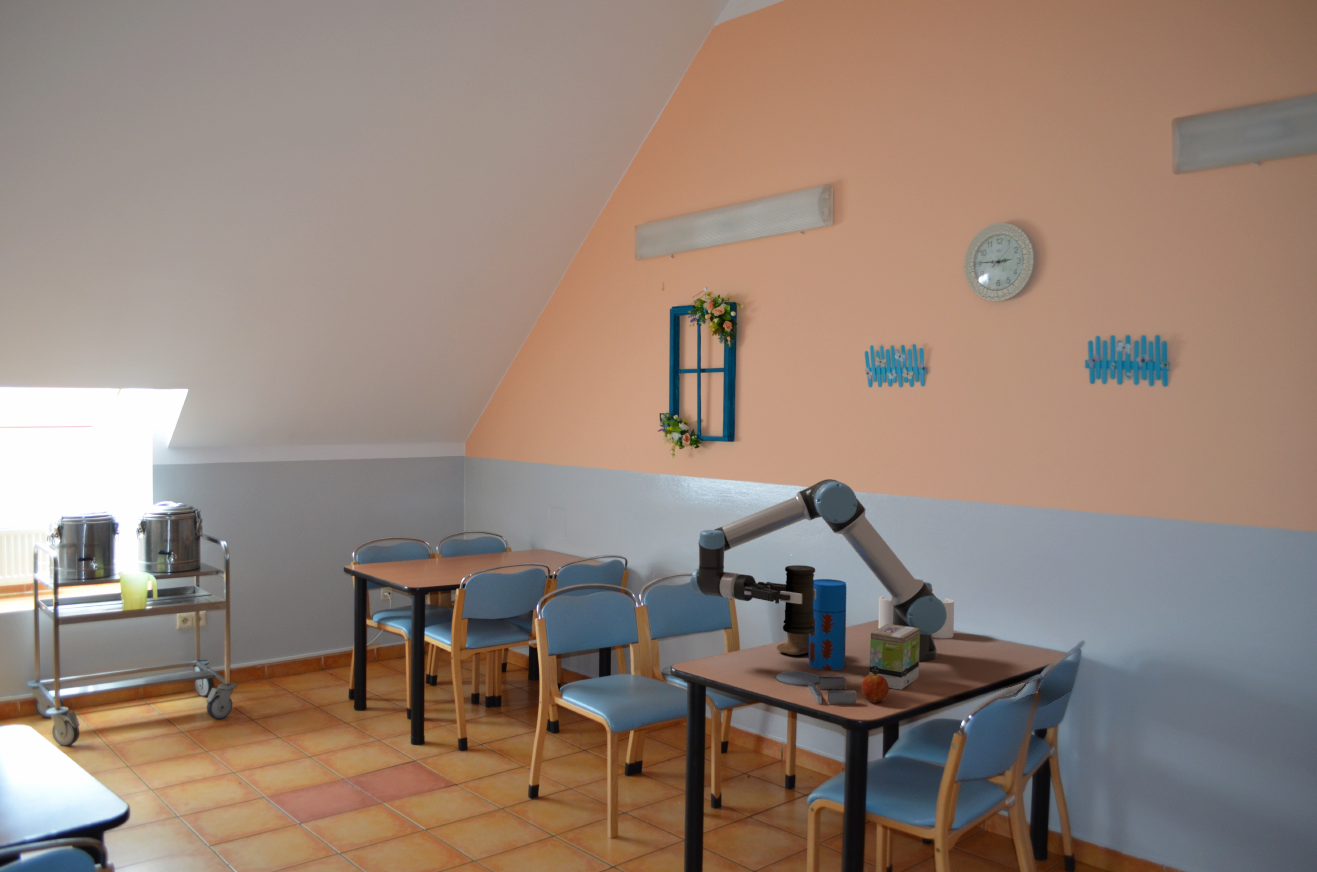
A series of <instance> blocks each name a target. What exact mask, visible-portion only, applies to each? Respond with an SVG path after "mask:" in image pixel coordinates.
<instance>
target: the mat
mask: <svg viewBox="0 0 1317 872" xmlns="http://www.w3.org/2000/svg"><path fill="white" fill-rule="evenodd" d="M776 680H777V682H779V683H783V684H785V685H790V686H803V687H805V686H808V680H812V681H813V683H814V685H816V684H819V676H818V675H816V674H814V673H812V672H811V673H810V672H806V671H792V670H791V671H784V672H780V673H778V674H777V675H776Z"/></svg>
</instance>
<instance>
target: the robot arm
mask: <svg viewBox="0 0 1317 872" xmlns="http://www.w3.org/2000/svg"><path fill="white" fill-rule="evenodd" d="M856 496H857V495H856V493H855V491H854V490H853V489H852V488H851V487H850V486H849V485H848V484H845V483H843V482H841V481H838V480H836V479H831V478H828V479H823V480H820V481H818V482H817V483H815V484H813V485H811V486H809V487H806V488H804V489H803V490H802V489H801V490H800V491H797V493H796V495H795V496H794V497H791V498H789V499H787V500H783V501H781V502H779V503H776V504H774V505H771V506H769V507H766V508H764V509H762V510H759V511H757V512H754V513H752V514H749V515H747V516H744V517H742V518H739V519H737V520H734V521H732V522H730V523H726V524H725V525H722V526H720V527H717V528H715V529H704V530H701V531H700V532H699V539H698V549H699V550H698V556H699V557H698V559H699V563H698V564H699V565H698V568H696V569H694V570H693V571H692V573H691V577H690V579H689V580H690V581H689V583H690V584H689V585H690V588H691V590H692V591H693V592H694V593H696V594H700V595H704V596H711V597H719V598H725V599H726V598H728V600H729V601H732V600H738V601H744V602H749V601H751V600H752V599H756V600H761V601H766V602H772V603H773V602H774V603H775V604H776V605H777V604H780V602H785V603H786V602H790V603H797V604H802V594H799V593H792V592H786V583H775V582H771V581H766V582H763V581H758V582H756V580H755V577H754V576H753V575H750V574H742V573H741V574H740V573H736V572H728V571H724V569H725V566H724V565H725V564H724V563H725V552H727V551H729V550H731V549H734V548H736V547H739V546H741V545H743V544H746V543H748V542H751V541H753V540H756V539H758V538H761V537H764V536H767V535H768V534H769V535H770V534H772V533H773V532H776V531H778V530H781V529H784V528H786V527H788V526H791V525H793V524H796V523H798V522H801V521H804V520H807V521H810V522H811V521H812V520H815V519H818V518H822V520H824V522H825V523H826V525H827V526H828V527H829V528H830V530H832V532H833V533H834V534H839V535H842V536H843V537H844V538H845V540H846V541H847V542H848V544H849V545H850V546H851V547H852V548H853V550H854V551H855V552H856V553H857V555H858V556H859V557H860V558H861V560H862V561H863V562H864V563H865V566H867V567H868V568H869V570H870V571H871V572H872V573H873V574H874V576H875V577H876V578H877V580H878V581H879V582H880V583H881V585H883V587H884V589H885V590H886V591H887V593H889V594H890V596H891V599H890V600H891V604H892V605H893V625H900V626H907V627H914V628H920V650H919V662H923V661H924V662H925V661H926V662H927V661H931V660H934V659H936V658H937V653H938V651H937V646H936V643H935V639H934V638H933V636H932V634H933V633H936V632H937V631H939V630H940V629H941V628H942V627H943V625H944V624H945V621H946V617H947V612H946V608H945V606H944V604H943V602H944V601H942V600H941V599H939V598H938V597H937V596H936V595H935V594H934V593H933V591H934V590H933V586H932V583H930V582H927V581H925V582H924V580H923V579H920V578H918V579H917V578H915V577H914V576H913V574H912V573H911V572H910V571H909V570H908V568H907V567H906V566H905V565H904V564H903V562H902V561H901V559H899V557H898V556H897V555H896V554H895V552H894V551H893V550H892V548H891V547H890V545H888V544H887V542H886V541H885V539H883V537H882V535H880V534H879V532H878V531H877V530H876V529H875V528H874V525H872V523H871V522H870V521H869V520H868V519H867V517H866V510H867V509H866V508H865V506H863V504H862V502H861V501H860V500H859V499H858V497H856ZM813 599H816V589H814V590H813Z"/></svg>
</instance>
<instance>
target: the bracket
mask: <svg viewBox="0 0 1317 872" xmlns="http://www.w3.org/2000/svg"><path fill="white" fill-rule="evenodd" d="M891 600H892V599H886V598H885V596H884V595H880V596H879V597H878V629H879V628H881V627H883V626H885V625H887V624H893V605H892V604H891ZM942 602H943V604H944V606H945V608H946V612H947V617H946V621H945V624H944V625H943V627H942V628H941V629H940V630H939V631H937V632H936V633H933V634H932V636H933V637H934V638H933V639H951V638H954V624H955V623H954V622H955V600H954V599H952V598H950V597H944V601H942Z"/></svg>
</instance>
